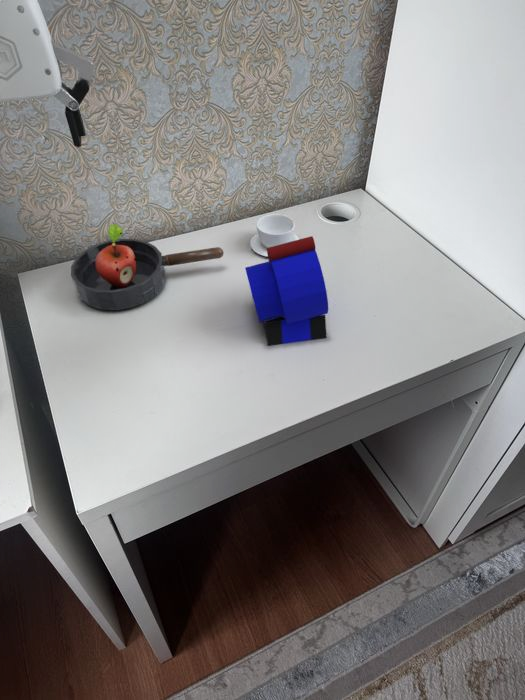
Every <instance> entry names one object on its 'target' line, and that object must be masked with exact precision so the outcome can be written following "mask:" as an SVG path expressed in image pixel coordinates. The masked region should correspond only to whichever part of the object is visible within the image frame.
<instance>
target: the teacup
mask: <svg viewBox="0 0 525 700" xmlns="http://www.w3.org/2000/svg"><path fill="white" fill-rule="evenodd" d="M255 225H256V232H257V233H255V234H254V235H252V237H251V238H250V242H249V246H250V248H251V249H252V250H253V251H254V252H255V253H256V254H258V255H261V256H263V257H267V258H268V254H267V248H269V247H273V246H276V245H280V244H284V243H288V242H292V241H295V240H299V239H300V238H299V236H298V235H297V234H295V228H296V222H295V221H294V219H293V218H292V217H290V216H288V215H285V214H282V213H270V214H266V215H263V216H261V217H260V218H258V219H257V221H256V224H255Z"/></svg>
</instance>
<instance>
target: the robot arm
mask: <svg viewBox="0 0 525 700" xmlns="http://www.w3.org/2000/svg"><path fill="white" fill-rule="evenodd" d="M51 36H52V35H51V33H50V30H49V27H48V24H47V21H46V19H45V16H44V13H43V11H42V8H41V6H40V3H39V0H0V103H6V102H16V101H27V100H28V101H29V100H38V99H45V98H50V97H54V98H55V99H57V100H58V101H59V102H60V103H62V105H64V106H65V108H64V109H65V110H64V115H65V119H66V123H67V126H68V129H69V132H70V135H71V139H72V143H73V146H74V147H76V148H82V137H86V129H85V124H84V121H83V117H82V114H81V110H80V105H81V104H82V102H83V100H84V99H85V98H86V97H87V94H88V93H89V91H90V87H91V82H92V78H93V74H94V70H95V62H94V60H93V59H92V58H90V57H88V56H85V55H83V54H81V53H78V52H76V51H74V50H72V49H69V48H67V47H64V46H62V45H60V44H58V43H56V42H53V38H52V37H51ZM60 63H61V64H64V65H67V66H69V67H71V68H73V69H76V70H78V72H79V75H78V79H77V81H76V82H75V84H74V86H73V87H71V86H70V85H69V84H68V83H66V82H65V81H64V80H63V74H62V68H61V64H60Z"/></svg>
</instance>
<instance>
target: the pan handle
mask: <svg viewBox="0 0 525 700" xmlns="http://www.w3.org/2000/svg"><path fill="white" fill-rule="evenodd" d="M223 256H224V250H223V249H222V248H221V247H219V246H216V247H209V248H202V249H196V250H190V251H182V252H176V253H170V254H169V253H168V254H164V255H162V260H163V265H164V267H172V266H178V265H185V264H190V263H192V264H193V263H197V262H204V261H211V260H218V259H221V258H222V257H223Z"/></svg>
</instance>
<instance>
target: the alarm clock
mask: <svg viewBox="0 0 525 700" xmlns="http://www.w3.org/2000/svg"><path fill="white" fill-rule="evenodd" d="M267 254H268V257H267V260H268V261H265V262H261V263H257V264H254V265H250V266H245V267H244V269H245V274H246V277H247V281H248V285H249V289H250V291H251V296H252V300H253V304H254V307H255V308H254V309H255V311H256V315H257V318H258V322H259V323H263V327H264V332H265V337H266V338H265V339H266V342H267V343H266V344H267V347H268V346H270V347H271V346H276V345H284V344H285V345H286V344H291V343H299V342H306V341H314V340H320V339H327V323H326V322H327V321H326V315H327V314H329V300H328V293H327V292H328V291H327V287H326V282H325V278H324V274H323V270H322V265H321V263H320V259H319V256H318V254H317V250H316V243H315V239H314V237H313V235H311V236H307V237H303V238H299V240H295V241H292V242H288V243H284V244H280V245H276V246H273V247H269V248H267ZM278 318H283V319H281V320H274V319H278ZM271 320H274V321H271Z"/></svg>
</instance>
